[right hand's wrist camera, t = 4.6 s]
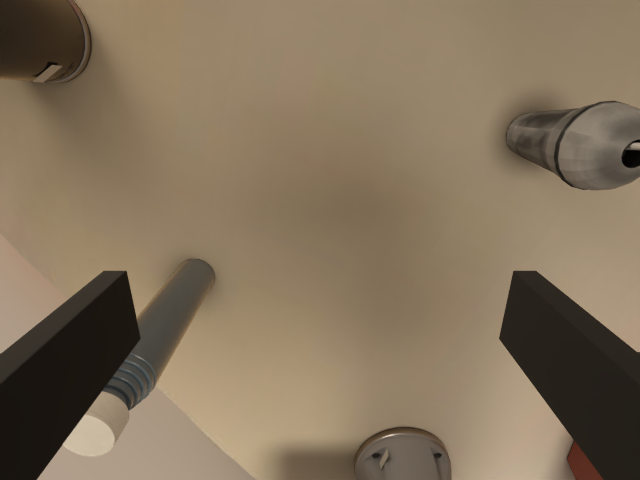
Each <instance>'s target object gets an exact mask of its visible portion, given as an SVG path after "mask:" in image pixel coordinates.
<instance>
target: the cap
mask: <svg viewBox="0 0 640 480" xmlns="http://www.w3.org/2000/svg"><path fill="white" fill-rule="evenodd" d="M128 420H129V410H128V408H127V406H126V405H125V403H124V402H123V401H122V400H121V399H119V398H118V397H116V396H115V395H113V394H110V393H107V392H103V391H102V392H101V393H100V395H99V396H98V397H97V399H96V400H95V401H94V403H93V404H92V405H91V407H90V408H89V409H88V411H87V412H86V414H85V415H84V416H83V418H82V419H81V420H80V422H79V423H78V424H77V426H76V427H75V428H74V430H73V431H72V432H71V434H70V435H69V436H68V438H67V439H66V441H65V442H64V443H63V446H64V447H66V448H67V449H68V450H70V451H72V452H74V453H76V454H79V455H83V456H93V457H94V456H100V455H103V454H106V453H107V452H109V451H110V450H111V449H112V448H113V446H114V444H115V443H116V441H117V439H118V438H119V436H120V434H121V433H122V431H123V429H124V428H125V426H126V424H127V422H128Z"/></svg>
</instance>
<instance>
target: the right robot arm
mask: <svg viewBox="0 0 640 480" xmlns="http://www.w3.org/2000/svg"><path fill="white" fill-rule="evenodd" d="M140 339H141V337H140V332H139V328H138V323H137V318H136V313H135V309H134V304H133V299H132V295H131V290H130V285H129V280H128V276H127V271H103V272H102V273H101V274H99V275H98V276H97V277H96V278H94V279H93V280H92V281H91V282H89V283H88V284H87V285H86V286H85V287H83V288H82V289H81V290H80V291H78V292H77V293H76V294H75V295H73V296H72V297H71V298H70V299H68V300H67V301H66V302H65V303H63V304H62V305H61V306H60V307H58V308H57V309H56V310H55V311H54V312H52V313H51V314H50V315H49V316H47V317H46V318H45V319H44V320H42V321H41V322H40V323H39V324H37V325H36V326H35V327H34V328H32V329H31V330H30V331H29V332H27V333H26V334H25V335H24V336H23V337H21V338H20V339H19V340H18V341H16V342H15V343H14V344H13V345H11V346H10V347H9V348H8V349H6V350H5V351H4V352H3V353H1V354H0V480H37V478H38V477H39V476H40V474H41V473H42V472H43V470H44V469H45V468H46V466H47V465H48V463H49V462H50V461H51V459H52V458H53V457H54V455H55V454H56V453H57V451H58V450H59V449H60V447H61V446H62V445H63V443H64V442H65V441H66V439H67V438H68V436H69V435H70V434H71V432H72V431H73V430H74V428H75V427H76V426H77V424H78V423H79V422H80V420H81V419H82V418H83V416H84V415H85V414H86V412H87V411H88V409H89V408H90V407H91V405H92V404H93V403H94V401H95V400H96V399H97V397H98V396H99V395H100V393H101V392H102V391H103V389H104V388H105V386H106V385H107V384H108V382H109V381H110V380H111V378H112V377H113V376H114V374H115V373H116V372H117V370H118V369H119V368H120V366H121V365H122V364H123V362H124V361H125V359H126V358H127V357H128V355H129V354H130V353H131V351H132V350H133V349H134V347H135V346H136V345H137V343H138V342H139V341H140ZM499 339H500V341H501V342H502V343H503V345H504V346H505V347H506V349H507V350H508V351H509V353H510V354H511V355H512V357H513V358H514V359H515V361H516V362H517V364H518V365H519V366H520V368H521V369H522V370H523V372H524V373H525V374H526V376H527V377H528V378H529V380H530V381H531V382H532V384H533V385H534V386H535V388H536V389H537V391H538V392H539V393H540V395H541V396H542V397H543V399H544V400H545V401H546V403H547V404H548V405H549V407H550V408H551V409H552V411H553V412H554V414H555V415H556V416H557V418H558V419H559V420H560V422H561V423H562V424H563V426H564V427H565V428H566V430H567V431H568V432H569V434H570V435H571V436H572V438H573V439H574V441H575V442H576V443H577V445H578V446H579V447H580V449H581V450H582V451H583V453H584V454H585V455H586V457H587V458H588V459H589V461H590V462H591V464H592V465H593V466H594V468H595V469H596V470H597V472H598V473H599V474H600V476H601V477H602V478H603V480H640V352H636V351H635V350H634V349H632V348H631V347H630V346H629V345H627V344H626V343H625V342H624V341H622V340H621V339H620V338H619V337H618V336H616V335H615V334H614V333H613V332H611V331H610V330H609V329H608V328H606V327H605V326H604V325H603V324H601V323H600V322H599V321H598V320H596V319H595V318H594V317H593V316H591V315H590V314H589V313H588V312H586V311H585V310H584V309H583V308H582V307H580V306H579V305H578V304H577V303H575V302H574V301H573V300H572V299H570V298H569V297H568V296H567V295H565V294H564V293H563V292H562V291H560V290H559V289H558V288H557V287H555V286H554V285H553V284H552V283H551V282H549V281H548V280H547V279H546V278H544V277H543V276H542V275H541V274H539V273H538V272H537V271H513V276H512V280H511V285H510V290H509V295H508V299H507V304H506V309H505V313H504V318H503V323H502V328H501V332H500V337H499ZM355 474H356V479H357V480H452V478H451V464H450V459H449V456H448V453H447V451H446V448H445V446H444V445H443V443H442V442H441V441H440V440H439V439H438V438H436V437H435V436H434V435H432V434H430V433H428V432H425V431H422V430H419V429H413V428H397V429H391V430H387V431H384V432H381V433H379V434H377V435H375V436H373V437H371V438H370V439H368V440H367V441H366V442H365V443H364V444H363V445H362V446H361V447H360V449H359V450H358V452H357V454H356V457H355Z"/></svg>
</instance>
